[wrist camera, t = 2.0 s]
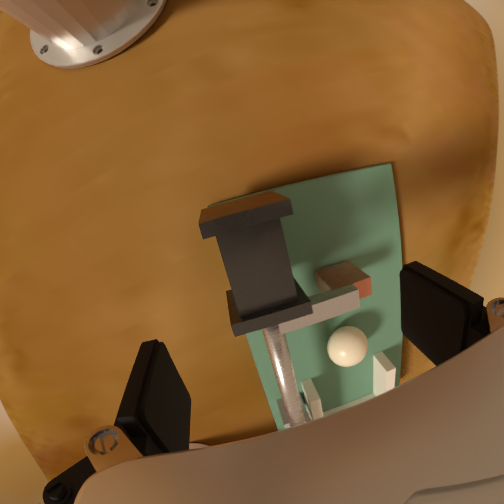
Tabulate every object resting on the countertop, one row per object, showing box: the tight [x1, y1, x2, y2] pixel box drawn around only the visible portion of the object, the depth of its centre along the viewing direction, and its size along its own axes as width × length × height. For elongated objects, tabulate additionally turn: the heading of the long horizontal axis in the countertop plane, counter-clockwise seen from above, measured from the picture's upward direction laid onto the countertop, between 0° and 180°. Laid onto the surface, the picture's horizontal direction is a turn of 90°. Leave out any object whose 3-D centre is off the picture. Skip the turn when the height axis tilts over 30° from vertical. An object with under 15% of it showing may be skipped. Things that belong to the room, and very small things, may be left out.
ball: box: [327, 326, 368, 367], centre depth 24 cm, size 4×4×4 cm
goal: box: [301, 351, 396, 421], centre depth 26 cm, size 7×9×3 cm
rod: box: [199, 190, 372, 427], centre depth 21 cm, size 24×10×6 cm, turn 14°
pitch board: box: [208, 163, 403, 431], centre depth 24 cm, size 25×15×4 cm, turn 14°
